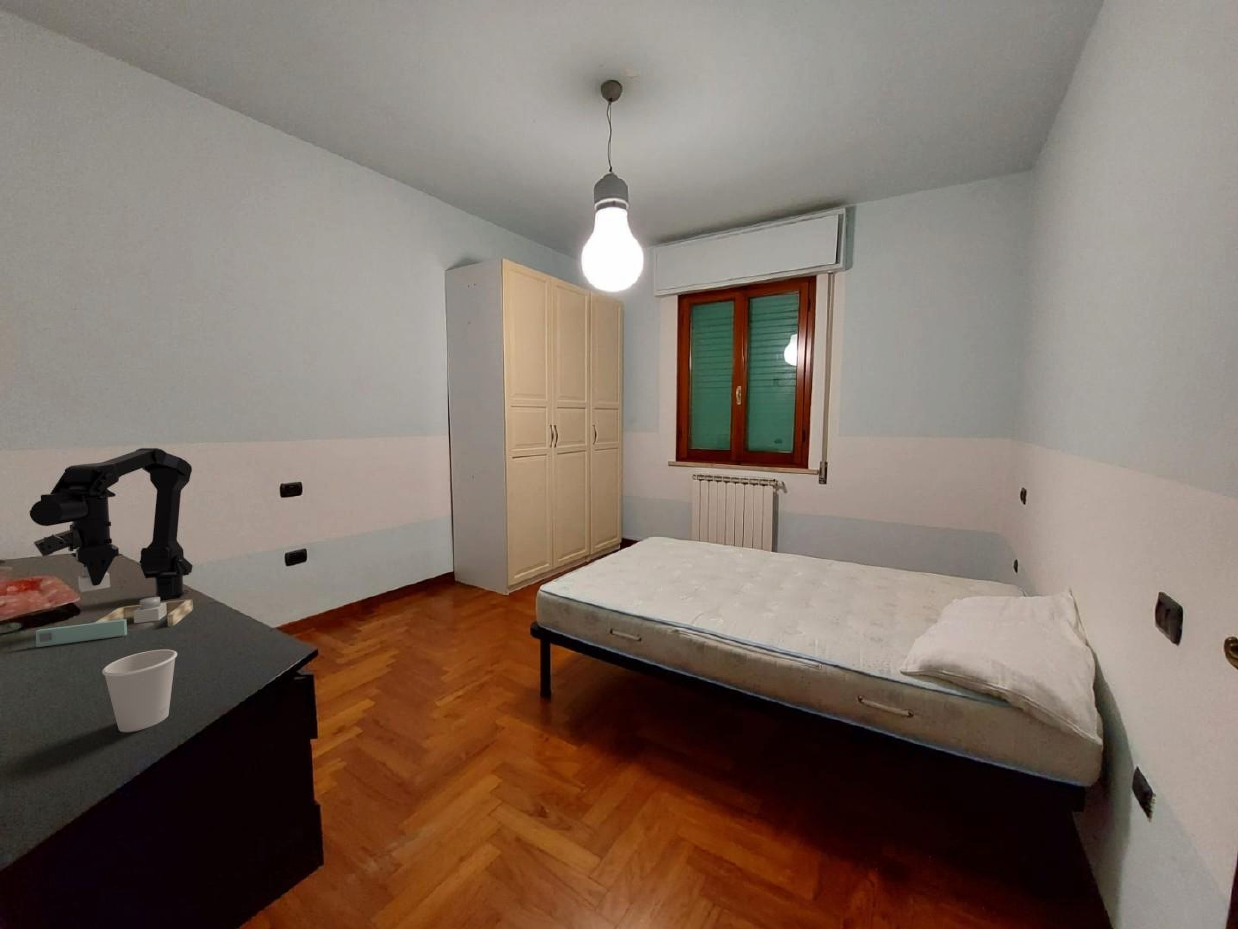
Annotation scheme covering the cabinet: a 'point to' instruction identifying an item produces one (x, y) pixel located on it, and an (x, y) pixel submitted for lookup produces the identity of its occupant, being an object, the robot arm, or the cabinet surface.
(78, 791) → the cabinet surface
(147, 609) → the jaw
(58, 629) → the panel
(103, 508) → the robot arm
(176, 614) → the housing
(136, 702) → the dixie cup
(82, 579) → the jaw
